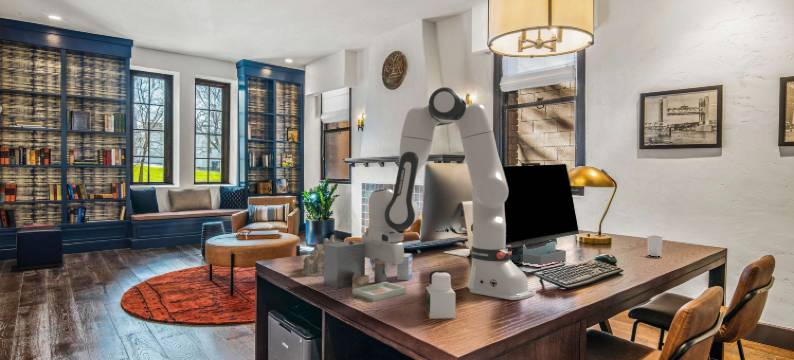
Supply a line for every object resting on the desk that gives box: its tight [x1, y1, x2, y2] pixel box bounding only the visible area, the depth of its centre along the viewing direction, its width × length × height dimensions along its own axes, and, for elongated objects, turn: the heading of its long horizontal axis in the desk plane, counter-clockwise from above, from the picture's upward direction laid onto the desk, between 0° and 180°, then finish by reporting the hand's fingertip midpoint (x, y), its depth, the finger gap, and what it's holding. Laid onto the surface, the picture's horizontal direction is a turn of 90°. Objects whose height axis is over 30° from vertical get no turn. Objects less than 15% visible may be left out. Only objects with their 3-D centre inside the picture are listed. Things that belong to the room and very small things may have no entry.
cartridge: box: [373, 258, 388, 284], centre depth 159 cm, size 4×4×9 cm
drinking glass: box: [646, 234, 664, 256], centre depth 218 cm, size 7×7×10 cm
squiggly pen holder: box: [523, 241, 557, 256], centre depth 202 cm, size 18×10×9 cm, turn 107°
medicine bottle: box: [425, 270, 456, 320], centre depth 124 cm, size 7×7×12 cm
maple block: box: [351, 274, 370, 289], centre depth 153 cm, size 4×4×4 cm
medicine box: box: [396, 252, 413, 281], centre depth 168 cm, size 8×4×9 cm, turn 168°
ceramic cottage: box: [301, 234, 336, 277], centre depth 177 cm, size 16×16×15 cm
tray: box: [351, 281, 407, 303], centre depth 145 cm, size 10×14×2 cm
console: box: [323, 240, 366, 289], centre depth 159 cm, size 9×12×15 cm
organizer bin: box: [523, 248, 567, 265], centre depth 199 cm, size 14×22×5 cm, turn 133°
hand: (380, 272), depth 159 cm, fingers closed on cartridge, 4 cm apart
